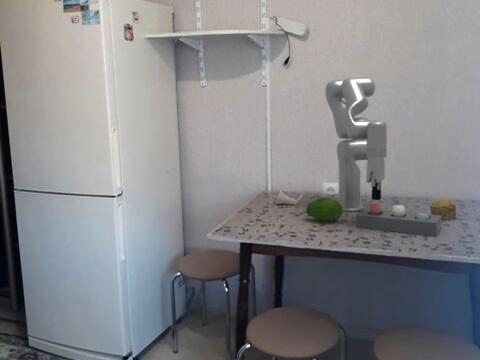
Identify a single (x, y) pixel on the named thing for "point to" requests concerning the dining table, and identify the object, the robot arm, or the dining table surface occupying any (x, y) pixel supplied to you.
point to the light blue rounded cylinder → (423, 216)
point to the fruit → (324, 209)
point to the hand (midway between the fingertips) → (376, 199)
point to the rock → (443, 208)
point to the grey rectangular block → (399, 222)
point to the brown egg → (375, 208)
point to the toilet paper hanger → (287, 199)
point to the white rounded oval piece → (398, 211)
